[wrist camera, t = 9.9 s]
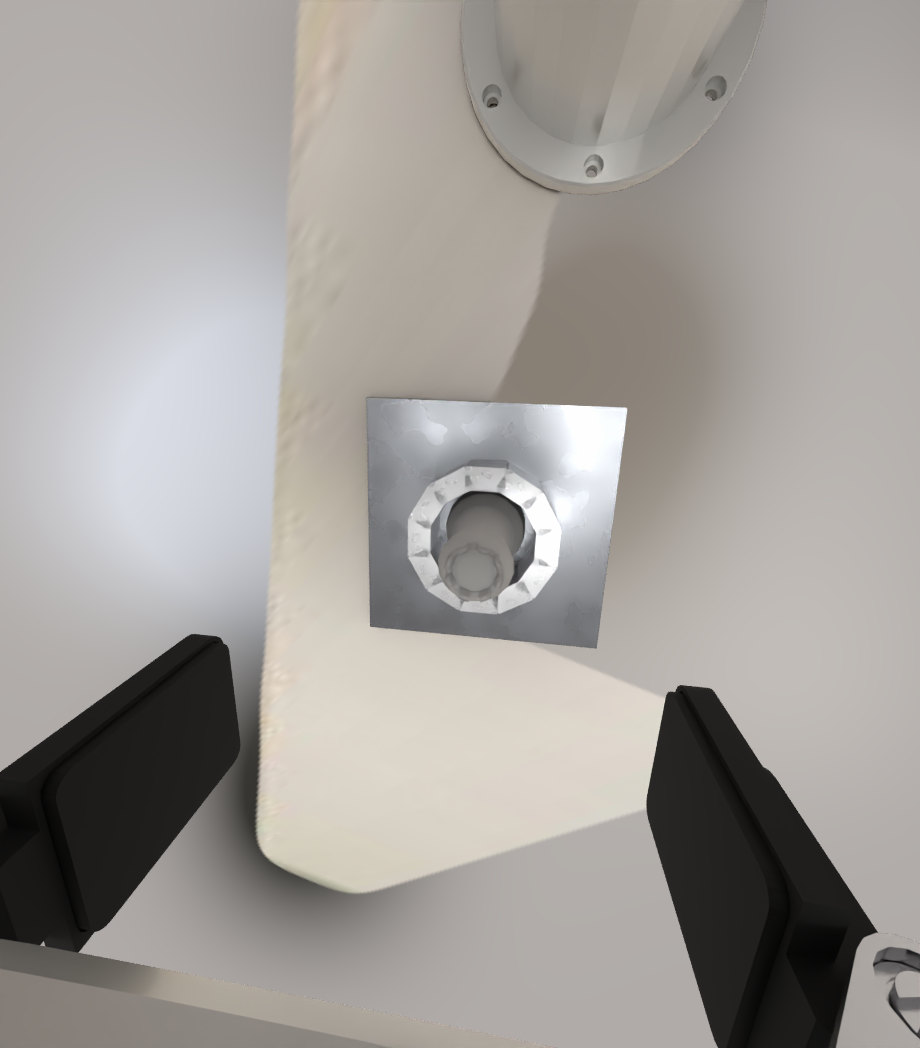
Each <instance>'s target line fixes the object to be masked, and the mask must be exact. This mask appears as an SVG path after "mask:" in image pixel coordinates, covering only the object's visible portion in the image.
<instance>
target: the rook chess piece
mask: <svg viewBox="0 0 920 1048" xmlns="http://www.w3.org/2000/svg"><path fill="white" fill-rule="evenodd" d="M446 531H447V539H448V541H447V542H446V543H445V544H444V545H443V547H442V550H441V552H440V555H439V558H438V567H439V574H440V576H441V578H442V581H443V583H444V585H445V586H446V587H447V588H448V590H450V591H451V592H452V593H454V594H455V595H456V596H458V598H459V599H461V600H464V601H466V602H469V601H480V603H481V602H483V601H486V600H489V599H491V598H494V597H497V596H498V595H499V594H500V593H502V592H503V591H504V590H505V589H506V588H507V587H508V585H509V583H510V581H511V579H512V576H513V574H514V559H513V556H514V555H515V554H516V553H517V552H518V551H519V548H520V546H521V544H522V541H523V539H524V535H525V517H524V515H523V512H522V510H521V508H520V505H518V504H517V503H515V502H513V501H512V500H510V499H509V498H507V497H506V496H504V495H503V494H501V493H500V492H485V491H469V492H467V493H465V494H463V495H462V496H461V497H460V498H459V499H458V500H457V501H456V502H455V503H454V504H453V505H452V508H451V510H450V513H449V516H448V518H447V522H446Z"/></svg>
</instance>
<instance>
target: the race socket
mask: <svg viewBox="0 0 920 1048" xmlns="http://www.w3.org/2000/svg"><path fill="white" fill-rule="evenodd" d="M626 416H627V408H623V407H597V406H595V407H594V406H571V405H545V404H517V403H494V402H468V401H442V400H416V399H390V398H367V445H368V512H369V579H370V627H379V628H389V629H400V630H410V631H421V632H431V633H441V634H452V635H462V636H473V637H483V638H493V639H504V640H514V641H524V642H535V643H545V644H557V645H566V646H576V647H588V648H597V640H598V633H599V625H600V617H601V610H602V602H603V594H604V586H605V578H606V571H607V563H608V555H609V548H610V539H611V532H612V524H613V517H614V509H615V501H616V493H617V486H618V478H619V470H620V463H621V455H622V447H623V439H624V431H625V424H626ZM469 491H485V492H500V493H501V494H503V495H504V496H506V497H507V498H509V499H510V500H512V501H513V502H515V503H517V504H518V505H520V508H521V510H522V512H523V515H524V517H525V535H524V539H523V541H522V544H521V546H520V548H519V551H518V552H517V553H516V554H515V555H514V556H513V559H514V574H513V576H512V579H511V581H510V583H509V585H508V587H507V588H506V589H505V590H504V591H503V592H502V593H500V594H499V595H498V596H497V597H494V598H491V599H489V600H486V601H483V602H481V603H480V601H469V602H466V601H464V600H461V599H459V598H458V596H456V595H455V594H454V593H452V592H451V591H450V590H448V588H447V587H446V586H445V585H444V583H443V581H442V578H441V576H440V574H439V567H438V558H439V555H440V552H441V550H442V547H443V545H444V544H445V543H446V542H447V541H448V539H447V531H446V522H447V518H448V516H449V513H450V510H451V508H452V505H453V504H454V503H455V502H456V501H457V500H458V499H459V498H460V497H461V496H462V495H463V494H465V493H467V492H469Z"/></svg>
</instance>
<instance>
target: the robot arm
mask: <svg viewBox="0 0 920 1048" xmlns="http://www.w3.org/2000/svg"><path fill="white" fill-rule="evenodd" d="M766 3H767V0H463V4H462V14H461V45H462V59H463V65H464V72H465V78H466V84H467V87H468V91H469V94H470V98H471V101H472V104H473V108H474V111H475V114H476V116H477V118H478V120H479V122H480V124H481V126H482V128H483V130H484V132H485V134H486V136H487V138H488V139H489V140H490V142H491V143H492V144H493V145H494V147H495V148H496V149H497V151H498V152H499V153H500V155H501V156H502V157H503V158H504V159H505V160H506V161H507V162H508V163H509V164H510V165H512V166H513V167H514V168H515V169H516V170H518V171H519V172H520V173H521V174H522V175H523V176H525V177H527V178H529V179H531V180H533V181H535V182H537V183H538V184H540V185H542V186H544V187H546V188H550V189H554V190H558V191H561V192H565V193H569V194H589V195H597V194H603V193H609V192H614V191H620V190H624V189H626V188H629V187H631V186H634V185H636V184H639V183H642V182H644V181H647V180H649V179H650V178H652V177H654V176H655V175H657V174H659V173H660V172H662V171H664V170H665V169H666V168H668V167H670V166H672V165H673V164H674V163H675V162H676V161H678V160H679V159H680V158H681V157H682V156H683V155H685V154H686V153H687V152H688V151H689V150H690V149H691V148H693V147H694V146H695V145H696V144H697V143H698V142H699V140H700V139H701V138H702V137H703V135H704V134H705V133H706V132H707V131H708V130H709V128H710V127H711V126H712V125H713V123H714V122H715V121H716V120H717V119H718V117H719V116H720V114H721V113H722V111H723V110H724V108H725V107H726V105H727V104H728V103H729V101H730V100H731V98H732V96H733V95H734V93H735V91H736V89H737V87H738V85H739V83H740V81H741V80H742V78H743V75H744V73H745V72H746V70H747V68H748V66H749V63H750V62H751V59H752V56H753V53H754V50H755V47H756V44H757V41H758V38H759V35H760V32H761V29H762V26H763V21H764V15H765V9H766ZM706 96H710V97H711V98H712V99H713V101H712V100H709V99H708V98H707V97H706ZM492 103H495V104H497V106H496V107H494V108H489V107H488V106H489V105H490V104H492ZM589 170H594V171H595V173H596V176H595V177H589V176H587V175H586V172H587V171H589ZM239 751H240V737H239V729H238V720H237V712H236V704H235V695H234V687H233V679H232V671H231V663H230V655H229V649H228V647H227V645H225V644H223V641H222V640H221V638H219V637H217V636H208V635H199V634H191V635H189V636H187V637H186V638H185V639H183V640H182V641H180V642H179V643H177V644H176V645H175V646H173V647H172V648H171V649H169V650H168V651H166V652H165V653H164V654H162V655H161V656H159V657H158V658H157V659H155V660H154V661H153V662H151V663H150V664H148V665H147V666H146V667H144V668H143V669H142V670H140V671H139V672H137V673H136V674H135V675H133V676H132V677H131V678H129V679H128V680H126V681H125V682H124V683H122V684H121V685H120V686H118V687H117V688H115V689H114V690H113V691H111V692H110V693H109V694H107V695H106V696H104V697H103V698H102V699H100V700H99V701H97V702H96V703H95V704H93V705H92V706H91V707H89V708H88V709H86V710H85V711H84V712H82V713H81V714H79V715H78V716H77V717H75V718H74V719H73V720H71V721H70V722H68V723H67V724H66V725H64V726H63V727H62V728H60V729H59V730H58V731H56V732H55V733H53V734H52V735H51V736H49V737H48V738H46V739H45V740H44V741H42V742H41V743H40V744H38V745H37V746H35V747H34V748H33V749H31V750H30V751H29V752H27V753H26V754H24V755H23V756H22V757H20V758H19V759H17V760H16V761H15V762H13V763H12V764H11V765H9V766H8V767H6V768H5V769H4V770H2V771H1V772H0V1048H555V1047H550V1046H545V1045H539V1044H535V1043H530V1042H526V1041H520V1040H515V1039H511V1038H506V1037H501V1036H496V1035H491V1034H487V1033H482V1032H476V1031H472V1030H467V1029H462V1028H457V1027H452V1026H447V1025H443V1024H438V1023H433V1022H428V1021H423V1020H418V1019H413V1018H408V1017H403V1016H399V1015H394V1014H388V1013H383V1012H379V1011H374V1010H368V1009H364V1008H359V1007H353V1006H348V1005H344V1004H339V1003H334V1002H329V1001H323V1000H318V999H313V998H308V997H303V996H298V995H293V994H288V993H283V992H278V991H273V990H268V989H263V988H258V987H252V986H248V985H242V984H237V983H233V982H227V981H222V980H217V979H212V978H207V977H202V976H197V975H192V974H187V973H181V972H176V971H171V970H165V969H160V968H155V967H150V966H145V965H140V964H134V963H129V962H123V961H119V960H113V959H108V958H103V957H97V956H92V955H87V954H81V953H78V952H79V951H80V950H81V949H82V947H83V946H84V945H85V944H86V942H87V941H88V940H89V938H90V937H91V936H92V935H93V933H94V932H96V931H99V930H101V929H103V928H104V927H105V926H106V925H107V924H108V923H109V922H110V921H111V920H112V919H113V917H114V916H115V915H116V913H117V912H118V911H119V909H120V908H121V907H122V906H123V904H124V903H125V902H126V901H127V899H128V898H129V897H130V896H131V894H132V893H133V891H134V890H135V889H136V888H137V887H138V885H139V884H140V883H141V881H142V880H143V879H144V878H145V876H146V875H147V874H148V872H149V871H150V870H151V868H152V867H153V866H154V865H155V863H156V862H157V861H158V860H159V858H160V857H161V856H162V854H163V853H164V852H165V850H166V849H167V848H168V847H169V845H170V844H171V843H172V842H173V840H174V839H175V838H176V837H177V835H178V834H179V833H180V831H181V830H182V829H183V828H184V826H185V825H186V824H187V822H188V821H189V820H190V819H191V817H192V816H193V815H194V813H195V812H196V811H197V809H198V808H199V807H200V806H201V804H202V803H203V802H204V800H205V799H206V798H207V797H208V795H209V794H210V793H211V792H212V790H213V789H214V788H215V786H216V785H217V784H218V783H219V781H220V780H221V779H222V777H223V776H224V775H225V773H226V772H227V771H228V770H229V768H230V767H231V766H232V765H233V763H234V762H235V760H236V758H237V756H238V754H239ZM646 806H647V815H648V820H649V823H650V827H651V830H652V833H653V837H654V840H655V843H656V847H657V850H658V854H659V857H660V860H661V864H662V867H663V870H664V874H665V877H666V880H667V884H668V887H669V890H670V893H671V897H672V901H673V904H674V907H675V911H676V914H677V917H678V921H679V924H680V927H681V931H682V934H683V937H684V941H685V944H686V947H687V951H688V954H689V958H690V961H691V964H692V968H693V971H694V974H695V978H696V981H697V984H698V987H699V991H700V994H701V998H702V1001H703V1005H704V1008H705V1011H706V1014H707V1018H708V1021H709V1024H710V1028H711V1031H712V1034H713V1037H714V1040H715V1042H716V1044H717V1046H718V1048H920V943H919V942H917V941H914V940H911V939H908V938H905V937H902V936H899V935H896V934H887V933H886V934H885V933H878V932H877V930H876V929H875V927H874V926H873V924H872V923H871V921H870V920H869V918H868V917H867V915H866V914H865V912H864V911H863V909H862V908H861V906H860V905H859V903H858V902H857V900H856V899H855V897H854V896H853V894H852V893H851V891H850V890H849V888H848V887H847V885H846V884H845V882H844V881H843V879H842V878H841V876H840V874H839V873H838V871H837V870H836V869H835V867H834V865H833V864H832V863H831V861H830V859H829V858H828V857H827V855H826V853H825V852H824V850H823V849H822V847H821V846H820V844H819V843H818V842H817V840H816V838H815V837H814V835H813V834H812V832H811V831H810V829H809V828H808V826H807V825H806V823H805V822H804V820H803V819H802V817H801V816H800V814H799V813H798V811H797V810H796V808H795V807H794V805H793V804H792V802H791V800H790V799H789V798H788V796H787V794H786V793H785V791H784V790H783V789H782V787H781V785H780V784H779V782H778V781H777V779H776V778H775V777H774V776H773V774H772V773H771V772H770V771H769V770H767V769H766V768H764V767H763V766H762V765H761V763H760V762H759V760H758V759H757V757H756V756H755V754H754V753H753V751H752V749H751V748H750V747H749V745H748V743H747V742H746V740H745V739H744V737H743V736H742V734H741V732H740V731H739V730H738V728H737V726H736V725H735V723H734V722H733V720H732V719H731V717H730V715H729V714H728V712H727V711H726V709H725V708H724V706H723V705H722V703H721V702H720V700H719V699H718V697H717V695H716V694H715V692H714V691H713V690H712V689H710V688H702V687H692V686H684V685H680V686H678V687H677V689H676V692H668V694H667V695H666V699H665V704H664V710H663V715H662V720H661V726H660V731H659V736H658V741H657V747H656V752H655V757H654V762H653V768H652V773H651V778H650V783H649V789H648V794H647V804H646ZM43 941H44V943H45V946H46V947H45V946H40V945H41V943H42V942H43Z"/></svg>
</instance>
